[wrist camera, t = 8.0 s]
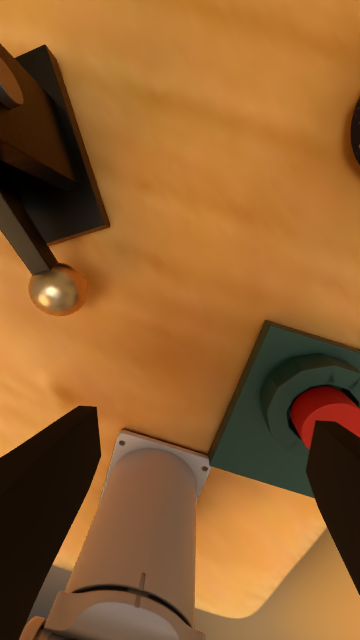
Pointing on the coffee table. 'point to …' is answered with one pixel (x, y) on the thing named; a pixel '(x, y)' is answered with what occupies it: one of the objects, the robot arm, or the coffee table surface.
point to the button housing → (280, 405)
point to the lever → (40, 259)
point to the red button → (323, 411)
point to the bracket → (46, 148)
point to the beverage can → (356, 132)
